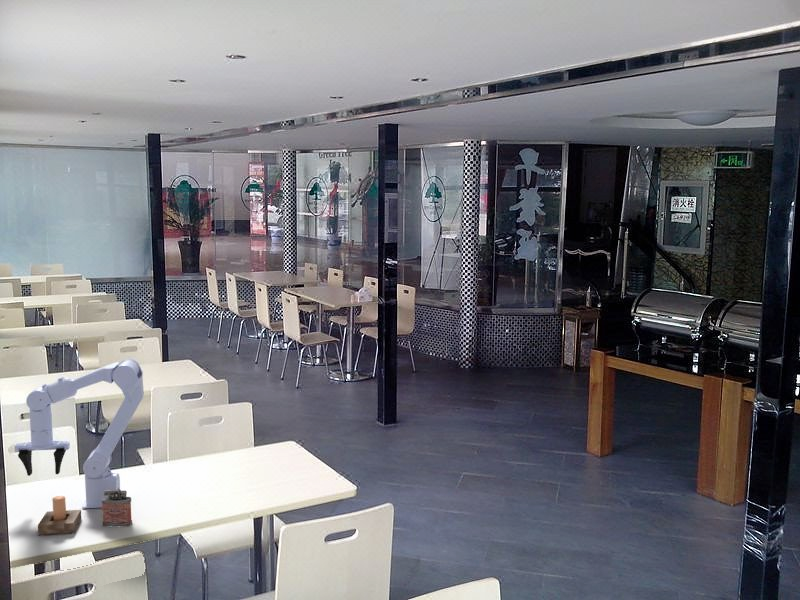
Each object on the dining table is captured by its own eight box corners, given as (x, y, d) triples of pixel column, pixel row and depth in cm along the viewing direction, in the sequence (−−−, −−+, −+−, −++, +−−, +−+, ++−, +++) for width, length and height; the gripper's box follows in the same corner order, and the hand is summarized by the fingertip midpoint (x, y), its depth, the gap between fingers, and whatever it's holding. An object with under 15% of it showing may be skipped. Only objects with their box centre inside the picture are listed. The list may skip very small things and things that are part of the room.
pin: (67, 522, 211) (66, 495, 210) (65, 527, 208) (64, 499, 207) (55, 523, 211) (53, 496, 210) (52, 528, 208) (51, 500, 207)
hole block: (81, 519, 215) (80, 509, 214) (73, 533, 206) (73, 523, 206) (47, 521, 213) (46, 511, 213) (38, 535, 204) (37, 525, 204)
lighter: (133, 521, 214) (132, 487, 213) (130, 526, 211) (128, 492, 209) (104, 521, 214) (103, 487, 212) (100, 526, 210) (99, 492, 209)
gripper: (10, 434, 215) (12, 480, 217) (64, 432, 218) (66, 477, 220) (17, 426, 222) (20, 471, 224) (70, 424, 225) (72, 468, 227)
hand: (43, 473), depth 222 cm, fingers open, 7 cm apart
